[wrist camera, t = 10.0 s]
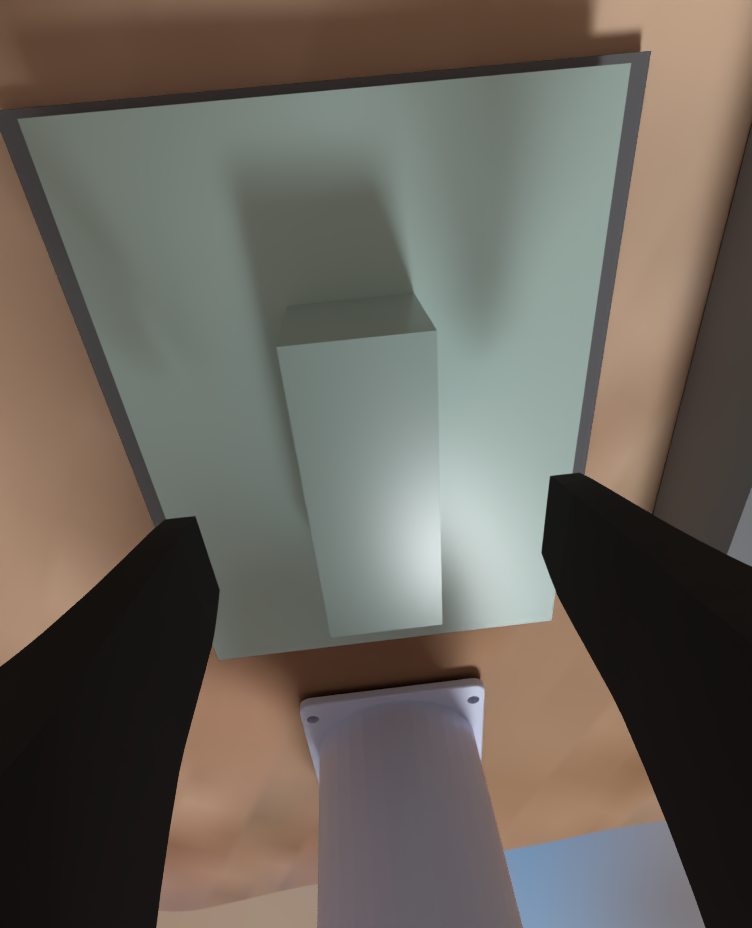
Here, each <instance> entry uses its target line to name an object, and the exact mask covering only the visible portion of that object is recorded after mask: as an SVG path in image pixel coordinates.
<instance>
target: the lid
mask: <svg viewBox="0 0 752 928" xmlns="http://www.w3.org/2000/svg"><path fill="white" fill-rule="evenodd" d="M630 68H631V63H625V64H614V65H603V66H592V67H581V68H570V69H559V70H548V71H537V72H526V73H515V74H504V75H493V76H482V77H472V78H461V79H450V80H439V81H428V82H417V83H406V84H395V85H384V86H373V87H362V88H351V89H340V90H329V91H318V92H307V93H296V94H285V95H274V96H263V97H252V98H241V99H231V100H220V101H209V102H198V103H187V104H176V105H165V106H154V107H143V108H132V109H121V110H110V111H99V112H88V113H77V114H66V115H55V116H44V117H33V118H22V119H17V120H18V122H19V125H20V128H21V130H22V133H23V136H24V139H25V141H26V144H27V147H28V149H29V152H30V155H31V157H32V160H33V163H34V165H35V168H36V171H37V174H38V176H39V179H40V182H41V184H42V187H43V190H44V192H45V195H46V198H47V200H48V203H49V206H50V208H51V211H52V214H53V217H54V219H55V222H56V225H57V227H58V230H59V233H60V235H61V238H62V241H63V243H64V246H65V249H66V252H67V254H68V257H69V260H70V262H71V265H72V268H73V270H74V273H75V276H76V278H77V281H78V284H79V286H80V289H81V292H82V295H83V297H84V300H85V303H86V305H87V308H88V311H89V313H90V316H91V319H92V321H93V324H94V327H95V330H96V332H97V335H98V338H99V340H100V343H101V346H102V348H103V351H104V354H105V356H106V359H107V362H108V365H109V367H110V370H111V373H112V375H113V378H114V381H115V383H116V386H117V389H118V391H119V394H120V397H121V399H122V402H123V405H124V408H125V410H126V413H127V416H128V418H129V421H130V424H131V426H132V429H133V432H134V434H135V437H136V440H137V443H138V445H139V448H140V451H141V453H142V456H143V459H144V461H145V464H146V467H147V469H148V472H149V475H150V477H151V480H152V483H153V486H154V488H155V491H156V494H157V496H158V499H159V502H160V504H161V507H162V510H163V512H164V515H165V518H166V519H172V518H181V517H190V516H196V519H197V522H198V525H199V528H200V531H201V534H202V537H203V540H204V544H205V547H206V550H207V553H208V556H209V559H210V562H211V565H212V568H213V571H214V574H215V577H216V580H217V583H218V586H219V589H220V594H219V603H218V612H217V620H216V627H215V634H214V639H213V643H212V644H213V647H214V650H215V652H216V655H217V658H218V660H225V659H234V658H242V657H250V656H259V655H267V654H275V653H284V652H292V651H300V650H309V649H317V648H325V647H334V646H342V645H350V644H359V643H367V642H375V641H384V640H392V639H400V638H409V637H417V636H425V635H434V634H442V633H450V632H459V631H467V630H475V629H484V628H492V627H500V626H509V625H517V624H525V623H533V622H542V621H550V620H551V619H552V612H553V605H554V598H555V591H556V590H555V588H554V585H553V583H552V580H551V578H550V575H549V573H548V570H547V567H546V565H545V562H544V559H543V556H542V554H541V550H542V541H543V533H544V524H545V515H546V506H547V497H548V488H549V479H550V476H554V475H562V474H571V473H573V466H574V459H575V452H576V445H577V438H578V431H579V424H580V417H581V410H582V403H583V396H584V389H585V382H586V375H587V368H588V361H589V354H590V347H591V340H592V333H593V326H594V319H595V312H596V305H597V298H598V291H599V284H600V277H601V271H602V264H603V257H604V250H605V243H606V236H607V229H608V222H609V215H610V208H611V201H612V194H613V187H614V180H615V173H616V166H617V159H618V152H619V145H620V138H621V131H622V124H623V117H624V110H625V103H626V96H627V89H628V82H629V75H630Z"/></svg>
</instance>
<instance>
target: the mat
mask: <svg viewBox="0 0 752 928" xmlns="http://www.w3.org/2000/svg"><path fill="white" fill-rule="evenodd" d="M650 55H651V51H644V52H634V53H623V54H612V55H601V56H590V57H579V58H568V59H557V60H546V61H535V62H524V63H513V64H502V65H491V66H480V67H469V68H458V69H447V70H436V71H425V72H414V73H403V74H393V75H382V76H371V77H360V78H349V79H338V80H327V81H316V82H305V83H294V84H283V85H272V86H261V87H250V88H239V89H228V90H217V91H206V92H195V93H184V94H173V95H162V96H152V97H141V98H130V99H119V100H108V101H97V102H86V103H75V104H64V105H53V106H42V107H31V108H20V109H9V110H0V131H1V134H2V136H3V139H4V141H5V144H6V146H7V149H8V151H9V154H10V157H11V159H12V162H13V164H14V167H15V169H16V172H17V175H18V177H19V180H20V182H21V185H22V187H23V190H24V192H25V195H26V198H27V200H28V203H29V205H30V208H31V210H32V213H33V216H34V218H35V221H36V223H37V226H38V228H39V231H40V233H41V236H42V239H43V241H44V244H45V246H46V249H47V251H48V254H49V257H50V259H51V262H52V264H53V267H54V269H55V272H56V274H57V277H58V280H59V282H60V285H61V287H62V290H63V292H64V295H65V297H66V300H67V303H68V305H69V308H70V310H71V313H72V315H73V318H74V321H75V323H76V326H77V328H78V331H79V333H80V336H81V338H82V341H83V344H84V346H85V349H86V351H87V354H88V356H89V359H90V362H91V364H92V367H93V369H94V372H95V374H96V377H97V379H98V382H99V385H100V387H101V390H102V392H103V395H104V397H105V400H106V403H107V405H108V408H109V410H110V413H111V415H112V418H113V420H114V423H115V426H116V428H117V431H118V433H119V436H120V438H121V441H122V444H123V446H124V449H125V451H126V454H127V456H128V459H129V461H130V464H131V467H132V469H133V472H134V474H135V477H136V479H137V482H138V485H139V487H140V490H141V492H142V495H143V497H144V500H145V502H146V505H147V508H148V510H149V513H150V515H151V518H152V520H153V523H154V526H155V528H156V527H157V526H158V525H159V524H160V523H161V522H163V521H164V520H165V519H166V518H165V515H164V512H163V510H162V507H161V504H160V502H159V499H158V496H157V494H156V491H155V488H154V486H153V483H152V480H151V477H150V475H149V472H148V469H147V467H146V464H145V461H144V459H143V456H142V453H141V451H140V448H139V445H138V443H137V440H136V437H135V434H134V432H133V429H132V426H131V424H130V421H129V418H128V416H127V413H126V410H125V408H124V405H123V402H122V399H121V397H120V394H119V391H118V389H117V386H116V383H115V381H114V378H113V375H112V373H111V370H110V367H109V365H108V362H107V359H106V356H105V354H104V351H103V348H102V346H101V343H100V340H99V338H98V335H97V332H96V330H95V327H94V324H93V321H92V319H91V316H90V313H89V311H88V308H87V305H86V303H85V300H84V297H83V295H82V292H81V289H80V286H79V284H78V281H77V278H76V276H75V273H74V270H73V268H72V265H71V262H70V260H69V257H68V254H67V252H66V249H65V246H64V243H63V241H62V238H61V235H60V233H59V230H58V227H57V225H56V222H55V219H54V217H53V214H52V211H51V208H50V206H49V203H48V200H47V198H46V195H45V192H44V190H43V187H42V184H41V182H40V179H39V176H38V174H37V171H36V168H35V165H34V163H33V160H32V157H31V155H30V152H29V149H28V147H27V144H26V141H25V139H24V136H23V133H22V130H21V128H20V125H19V122H18V120H17V119H22V118H33V117H44V116H55V115H66V114H77V113H88V112H99V111H110V110H121V109H132V108H143V107H154V106H165V105H176V104H187V103H198V102H209V101H220V100H231V99H241V98H252V97H263V96H274V95H285V94H296V93H307V92H318V91H329V90H340V89H351V88H362V87H373V86H384V85H395V84H406V83H417V82H428V81H439V80H450V79H461V78H472V77H482V76H493V75H504V74H515V73H526V72H537V71H548V70H559V69H570V68H581V67H592V66H603V65H614V64H625V63H631V68H630V75H629V82H628V89H627V96H626V103H625V110H624V117H623V124H622V131H621V138H620V145H619V152H618V159H617V166H616V173H615V180H614V187H613V194H612V201H611V208H610V215H609V222H608V229H607V236H606V243H605V250H604V257H603V264H602V271H601V277H600V284H599V291H598V298H597V305H596V312H595V319H594V326H593V333H592V340H591V347H590V354H589V361H588V368H587V375H586V382H585V389H584V396H583V403H582V410H581V417H580V424H579V431H578V438H577V445H576V452H575V459H574V466H573V473H581V474H583V475H584V474H585V467H586V461H587V454H588V448H589V442H590V435H591V429H592V423H593V416H594V410H595V404H596V397H597V391H598V385H599V378H600V372H601V366H602V359H603V353H604V347H605V340H606V334H607V328H608V321H609V315H610V309H611V302H612V296H613V290H614V283H615V277H616V270H617V264H618V258H619V251H620V245H621V239H622V232H623V226H624V220H625V213H626V207H627V201H628V194H629V188H630V182H631V175H632V169H633V163H634V156H635V150H636V144H637V137H638V131H639V125H640V118H641V112H642V105H643V99H644V93H645V86H646V80H647V74H648V67H649V61H650Z"/></svg>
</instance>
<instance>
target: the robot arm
mask: <svg viewBox="0 0 752 928" xmlns="http://www.w3.org/2000/svg"><path fill="white" fill-rule="evenodd" d="M541 554H542V556H543V559H544V562H545V565H546V567H547V570H548V573H549V575H550V578H551V580H552V583H553V585H554V588H555V590H556V593H557V595H558V597H559V599H560V601H561V603H562V605H563V607H564V609H565V610H566V612H567V614H568V616H569V618H570V620H571V622H572V623H573V625H574V627H575V629H576V631H577V633H578V634H579V636H580V638H581V640H582V642H583V643H584V645H585V647H586V649H587V651H588V653H589V654H590V656H591V658H592V660H593V662H594V663H595V665H596V667H597V669H598V671H599V672H600V674H601V676H602V678H603V680H604V681H605V683H606V685H607V687H608V689H609V691H610V692H611V694H612V696H613V698H614V700H615V702H616V704H617V706H618V708H619V710H620V712H621V714H622V716H623V719H624V721H625V723H626V726H627V728H628V730H629V733H630V735H631V737H632V740H633V742H634V744H635V747H636V749H637V751H638V754H639V756H640V758H641V761H642V763H643V765H644V768H645V770H646V773H647V775H648V777H649V780H650V782H651V785H652V787H653V790H654V792H655V795H656V797H657V800H658V802H659V805H660V807H661V810H662V812H663V815H664V817H665V820H666V822H667V824H668V827H669V829H670V832H671V835H672V838H673V840H674V843H675V846H676V848H677V851H678V853H679V856H680V859H681V861H682V864H683V867H684V869H685V872H686V875H687V877H688V880H689V883H690V885H691V888H692V891H693V893H694V896H695V899H696V901H697V905H698V907H699V910H700V913H701V916H702V919H703V922H704V925H705V927H706V928H752V566H749V565H747V564H745V563H743V562H741V561H739V560H737V559H735V558H733V557H731V556H729V555H727V554H725V553H723V552H721V551H719V550H717V549H715V548H713V547H711V546H709V545H707V544H705V543H703V542H701V541H699V540H697V539H696V538H694V537H692V536H690V535H688V534H686V533H684V532H683V531H681V530H679V529H677V528H675V527H674V526H672V525H670V524H668V523H666V522H665V521H663V520H661V519H659V518H658V517H656V516H654V515H652V514H651V513H649V512H647V511H646V510H644V509H642V508H640V507H639V506H637V505H635V504H634V503H632V502H630V501H629V500H627V499H625V498H624V497H622V496H620V495H619V494H617V493H615V492H613V491H612V490H610V489H608V488H607V487H605V486H603V485H602V484H600V483H598V482H596V481H595V480H593V479H591V478H589V477H587V476H585V475H583V474H581V473H571V474H562V475H554V476H550V479H549V488H548V497H547V506H546V515H545V524H544V533H543V541H542V550H541ZM219 594H220V589H219V586H218V583H217V580H216V577H215V574H214V571H213V568H212V565H211V562H210V559H209V556H208V553H207V550H206V547H205V544H204V540H203V537H202V534H201V531H200V528H199V525H198V522H197V519H196V516H190V517H181V518H172V519H165V520H164V521H163V522H161V523H160V524H159V525H158V526H157V527H156V528H155V529H154V530H153V531H151V532H150V533H149V534H148V535H147V536H146V537H145V538H144V539H143V540H142V541H141V542H140V543H139V544H138V545H137V546H136V547H135V548H134V549H133V550H132V551H131V552H130V553H129V554H128V555H127V556H126V557H125V558H124V559H123V560H122V561H121V562H120V563H119V564H118V565H117V566H115V567H114V568H113V569H112V570H111V571H110V572H109V573H108V574H107V575H106V576H105V577H104V578H103V579H102V580H101V581H100V582H99V583H98V584H97V585H96V586H95V587H94V588H93V589H92V590H90V591H89V592H88V593H87V594H86V595H85V596H84V597H83V598H82V599H80V600H79V601H78V602H77V603H76V604H75V605H74V606H73V607H71V608H70V609H69V610H68V611H67V612H66V613H65V614H64V615H62V616H61V617H60V618H59V619H58V620H57V621H56V622H54V623H53V624H52V625H51V626H50V627H49V628H48V629H47V630H45V631H44V632H43V633H42V634H41V635H40V636H38V637H37V638H36V639H35V640H34V641H32V642H31V643H30V644H29V645H27V646H26V647H25V648H24V649H23V650H21V651H20V652H19V653H18V654H16V655H15V656H14V657H12V658H11V659H10V660H9V661H7V662H6V663H5V664H3V665H2V666H1V667H0V928H156V925H157V917H158V909H159V901H160V892H161V886H162V879H163V872H164V865H165V858H166V851H167V844H168V838H169V831H170V824H171V818H172V812H173V806H174V800H175V794H176V788H177V782H178V776H179V771H180V766H181V762H182V757H183V753H184V749H185V744H186V741H187V737H188V733H189V730H190V726H191V722H192V718H193V715H194V711H195V707H196V704H197V700H198V696H199V692H200V689H201V685H202V681H203V678H204V674H205V670H206V666H207V662H208V659H209V655H210V651H211V647H212V643H213V639H214V634H215V627H216V620H217V612H218V603H219ZM484 698H485V689H484V686H483V682H482V681H481V680H480V679H477V678H469V679H461V680H452V681H444V682H436V683H428V684H420V685H412V686H404V687H395V688H387V689H379V690H371V691H363V692H355V693H347V694H338V695H330V696H322V697H314V698H308V699H305V700H304V701H302V702H301V704H300V716H301V720H302V724H303V728H304V731H305V735H306V739H307V743H308V746H309V750H310V754H311V758H312V761H313V765H314V769H315V773H316V776H317V780H318V784H319V843H318V917H317V918H318V919H317V920H318V921H317V928H523V927H522V923H521V919H520V915H519V911H518V907H517V903H516V899H515V895H514V891H513V887H512V883H511V879H510V875H509V871H508V867H507V863H506V859H505V855H504V851H503V847H502V843H501V839H500V835H499V831H498V827H497V823H496V819H495V815H494V811H493V807H492V803H491V799H490V796H489V792H488V788H487V784H486V780H485V776H484V772H483V768H482V764H481V759H482V739H483V718H484Z"/></svg>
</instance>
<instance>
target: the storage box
mask: <svg viewBox="0 0 752 928" xmlns="http://www.w3.org/2000/svg"><path fill="white" fill-rule="evenodd" d="M653 515H654V516H656V517H658V518H659V519H661V520H663V521H665V522H666V523H668V524H670V525H672V526H674V527H675V528H677V529H679V530H681V531H683V532H684V533H686V534H688V535H690V536H692V537H694V538H696V539H697V540H699V541H701V542H703V543H705V544H707V545H709V546H711V547H713V548H715V549H717V550H719V551H721V552H723V553H725V554H727V555H729V556H731V557H733V558H735V559H737V560H739V561H741V562H743V563H745V564H747V565H749V566H752V126H751V130H750V134H749V138H748V142H747V146H746V150H745V154H744V158H743V162H742V166H741V170H740V174H739V178H738V181H737V185H736V189H735V193H734V197H733V201H732V205H731V209H730V213H729V217H728V221H727V225H726V229H725V233H724V237H723V241H722V245H721V249H720V252H719V256H718V260H717V264H716V268H715V272H714V276H713V280H712V284H711V288H710V292H709V296H708V300H707V304H706V308H705V312H704V316H703V319H702V323H701V327H700V331H699V335H698V339H697V343H696V347H695V351H694V355H693V359H692V363H691V367H690V371H689V375H688V379H687V383H686V387H685V390H684V394H683V398H682V402H681V406H680V410H679V414H678V418H677V422H676V426H675V430H674V434H673V438H672V442H671V446H670V450H669V454H668V457H667V461H666V465H665V469H664V473H663V477H662V481H661V485H660V489H659V493H658V497H657V501H656V505H655V509H654V513H653Z"/></svg>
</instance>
